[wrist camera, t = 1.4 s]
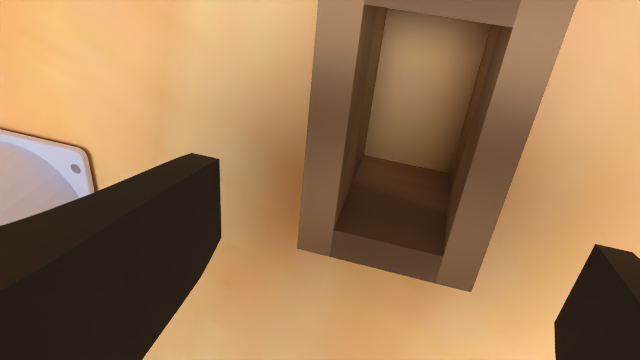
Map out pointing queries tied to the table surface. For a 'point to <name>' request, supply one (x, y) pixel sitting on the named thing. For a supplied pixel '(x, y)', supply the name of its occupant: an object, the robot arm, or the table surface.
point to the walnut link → (410, 181)
